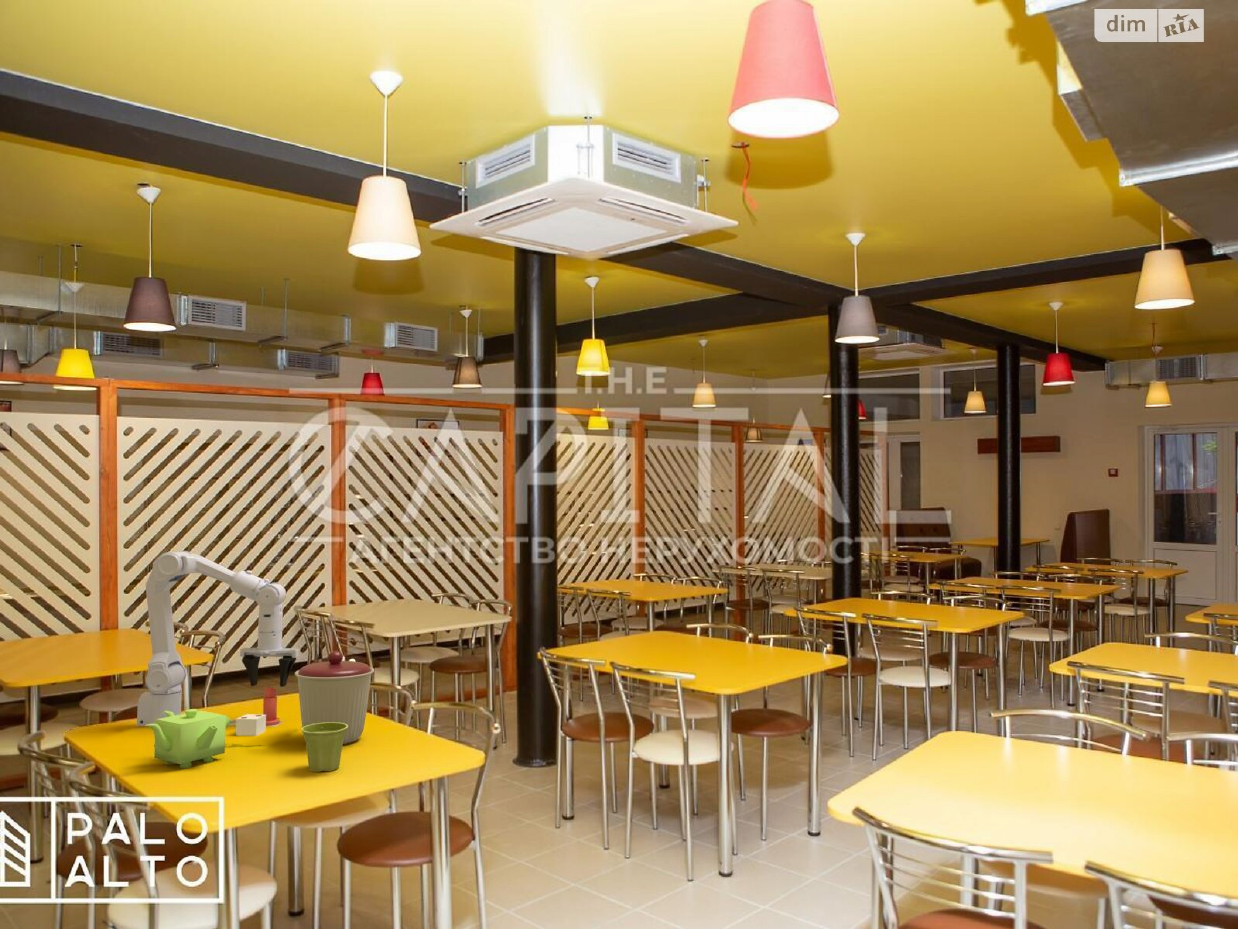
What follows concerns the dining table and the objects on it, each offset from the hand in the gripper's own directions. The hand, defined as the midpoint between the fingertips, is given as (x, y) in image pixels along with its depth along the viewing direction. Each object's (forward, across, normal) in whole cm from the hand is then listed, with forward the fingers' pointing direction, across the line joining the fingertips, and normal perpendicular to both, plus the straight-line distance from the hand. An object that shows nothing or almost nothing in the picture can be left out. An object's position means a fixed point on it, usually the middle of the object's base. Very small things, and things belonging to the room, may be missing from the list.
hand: (268, 685), depth 229 cm
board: (+10, -7, 0) cm, 13 cm away
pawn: (+9, +1, 0) cm, 9 cm away
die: (+10, +1, -10) cm, 15 cm away
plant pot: (+10, +29, -35) cm, 47 cm away
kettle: (+11, -2, -33) cm, 34 cm away
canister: (+10, +22, -12) cm, 27 cm away
